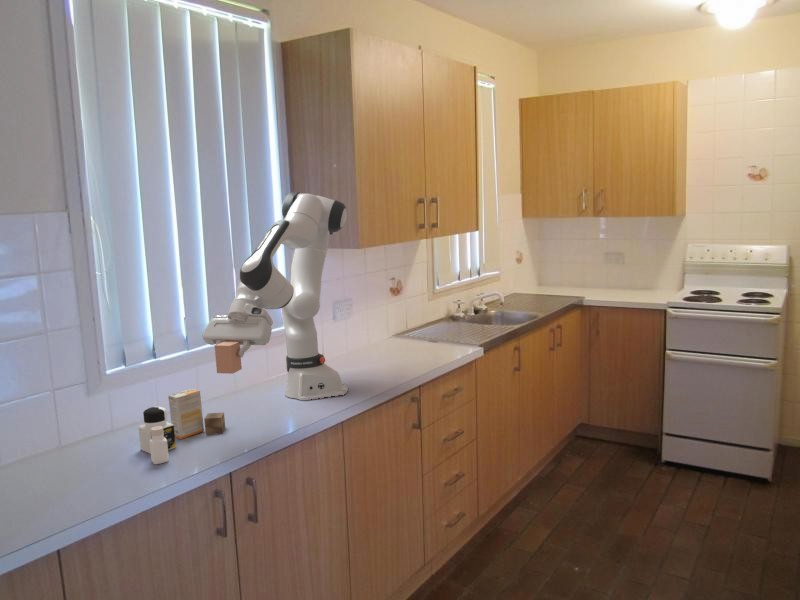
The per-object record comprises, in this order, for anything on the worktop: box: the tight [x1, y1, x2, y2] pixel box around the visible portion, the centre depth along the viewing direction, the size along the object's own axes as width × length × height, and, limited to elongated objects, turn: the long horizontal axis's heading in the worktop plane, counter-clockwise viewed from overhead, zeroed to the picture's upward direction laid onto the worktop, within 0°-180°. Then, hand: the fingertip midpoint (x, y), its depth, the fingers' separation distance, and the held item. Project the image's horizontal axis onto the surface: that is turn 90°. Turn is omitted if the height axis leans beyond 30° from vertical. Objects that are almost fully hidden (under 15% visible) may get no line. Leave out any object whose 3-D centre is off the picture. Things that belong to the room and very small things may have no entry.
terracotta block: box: [214, 342, 243, 375], centre depth 185 cm, size 5×5×8 cm
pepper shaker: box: [149, 426, 170, 465], centre depth 176 cm, size 4×4×10 cm
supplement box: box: [167, 388, 205, 440], centre depth 197 cm, size 8×5×13 cm, turn 141°
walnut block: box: [203, 411, 226, 435], centre depth 199 cm, size 5×5×5 cm
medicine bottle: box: [138, 406, 177, 455], centre depth 186 cm, size 7×7×12 cm
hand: (228, 355), depth 185 cm, fingers closed on terracotta block, 5 cm apart
